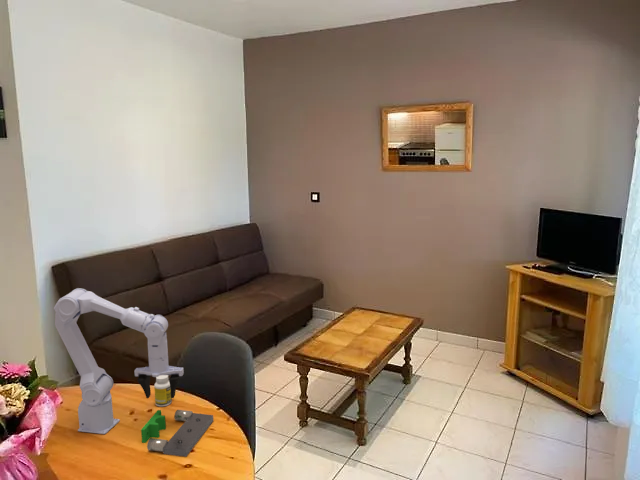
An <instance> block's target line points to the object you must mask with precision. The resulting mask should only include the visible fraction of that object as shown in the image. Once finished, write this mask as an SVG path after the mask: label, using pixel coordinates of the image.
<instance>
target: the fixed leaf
mask: <svg viewBox="0 0 640 480" xmlns="http://www.w3.org/2000/svg"><path fill="white" fill-rule="evenodd" d="M173 419H174V420H175V421H178V422H180V421H181V422H184V423H182V425H181V426H180V427H179V428H178V429H177V430H176V431H175V433H173V435H172V437H171V438H169V440H167V439H161V438H152V437H150V438H149V440H148V441H147V443H146V444H147V445H146V447H147V450H148V451H154V452H161V453H163V455H170V456H176V457H177V456H178V457H185V458H187V456H189V454H190V453H191V451H192V450H193V449H194V447H195V446H196V444H197V443H198V442H199V440H200V439H201V438H202V437H203V435H204V434H205V433H206V431H207V430H208V429H209V428H210V427H211V425H212V424H213V423H214V414H207V413H206V414H205V413H197V412H196V413H195V412H193V411H192V410H185V409H177V410H175V412H174V418H173Z"/></svg>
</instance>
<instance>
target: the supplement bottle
mask: <svg viewBox="0 0 640 480" xmlns="http://www.w3.org/2000/svg"><path fill="white" fill-rule="evenodd" d="M169 379H170V377H169V375H160V376H159V377H155V383H154V385H153V386H154V403H155V406H157V407H167V406H169V405H171V404H172V402H173V398H171V388H170V382H169Z"/></svg>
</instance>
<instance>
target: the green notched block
mask: <svg viewBox="0 0 640 480" xmlns="http://www.w3.org/2000/svg"><path fill="white" fill-rule="evenodd" d="M166 424H167V423H166V415H162V410H161V409H158V410H156V411H155V413H154V414H153V415H152V416H151V417H150V418H149V420H148V421H146V423H145V424H144V425H143V427H142V428H141V429H140V433H141V443H143V444H147V443H148V441H149V440H150V439H151V438H154V439H160V436H161V435H160V431H164V430H166V429H167V425H166Z"/></svg>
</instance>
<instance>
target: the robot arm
mask: <svg viewBox="0 0 640 480" xmlns="http://www.w3.org/2000/svg"><path fill="white" fill-rule="evenodd" d="M55 303H56V304H55V305H54V307H53V311H54V312H55V313H54V315H55V316H54V327H55V328H56V329H55V330H57V333H58V334H59V336H60V339H61V340H62V343H63V344H64V346H65V348H66V350H67V352H68V354H69V357H70V358H71V360H72V362H73V364H74V366H75V368H76V370H77V372H78V374H79V376H80V381H79V388H80V391H81V401H80V402H79V405H78V407H77V408H78V409H77V413H78V415H77V416H78V417H77V418H78V424H79V428H78V429H77V432H83V433H91V434H100V435H106V434H107V433H108V432H109V431H110V430H111V429H113V427H114V426H116V425H117V424H119V422H120V421H121V420H120V419H119V418H114V410H113V400H112V393H111V390H112V389H113V387H114V380H113V377H111V376H110V375H109V374H108V373H107V372H106V370H105V369H104V368H102V367H99V366H98V364H97V361H96V359H95V358H94V355H93V354H92V351H91V350H90V348H89V346H88V344H87V341H86V339H85V337H84V336H83V333H82V332H81V329H80V327H79V326H78V324H77V322H78V319H79V318H80V316H81V315H82V314H83V315H84V314H86V313H90V312H97V313H100V314H103V315H106V316H108V317H112V318H115V319H119V320H120V322H121V324H122V325H123V326H125V327H128V328H130V329H133V330H136V331H138V332H140V333H143V334H144V336H145V337H146V339H147V353H148V357H147V358H148V366H145V367H144V366H143V367H136V368H135V369H134V377H138V378H137V379H136V381H137V383H138V384H139V385H140V386H141V389H142V390H143V393H144V395H145V398H146V399H149V398H150V397H151V395H152V393H151V377H153V378H156V377H159V376H160V375H168V376H170V377H169V379H168V380H169V382H170V388H171V398H172V399H174V398H175V396H176V390H177V385H178V383H179V380H180V377H183V375H184V374H185V372H184V371H185V370H184V367H179V366H178V367H177V366H173V365H169V352H168V351H169V350H168V338H167V337H168V335H167V330H168V327H169V322H168V320H167V318H166V317H165V316H163V315H162V314H156V315H155V314H153V313H148V312H145V311H142V310H140V307H137V306H135V307H132V306H131V307H128V308H124V307H122V306H120V305H118V304H116V303H113V302H112V301H109V300H107V299H105V298H102V297H101V296H99V295H97V294H96V293H94V292H93V291H89V290H87V289H85V288H79V287H77V288H75V289H73V290H71V291H70V292H69V293H67V294H66V295H64V296H62V297H60V298H59V299H58V301H57V302H55Z"/></svg>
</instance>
